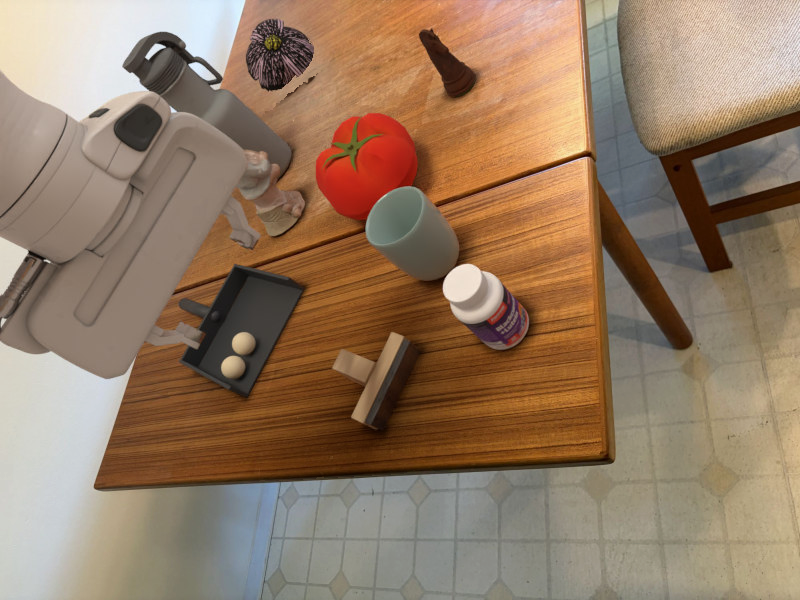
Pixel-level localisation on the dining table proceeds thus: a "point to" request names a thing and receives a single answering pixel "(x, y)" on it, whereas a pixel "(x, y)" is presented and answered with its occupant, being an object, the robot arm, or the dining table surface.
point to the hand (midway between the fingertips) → (226, 290)
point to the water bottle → (202, 95)
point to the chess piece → (447, 65)
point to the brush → (379, 379)
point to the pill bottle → (485, 306)
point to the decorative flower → (277, 54)
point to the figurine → (269, 194)
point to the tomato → (365, 163)
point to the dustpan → (241, 323)
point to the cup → (413, 234)
